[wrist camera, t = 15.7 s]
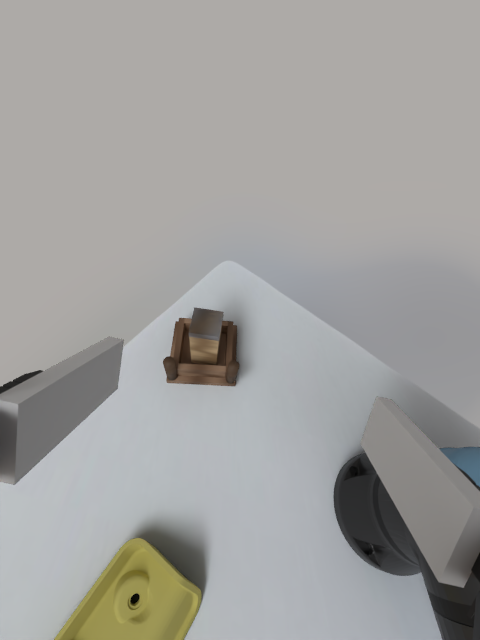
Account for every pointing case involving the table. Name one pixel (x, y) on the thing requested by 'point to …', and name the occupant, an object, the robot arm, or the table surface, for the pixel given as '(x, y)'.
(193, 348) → the block
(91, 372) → the robot arm
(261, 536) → the table surface
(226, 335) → the brown square open box
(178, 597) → the plastic component
